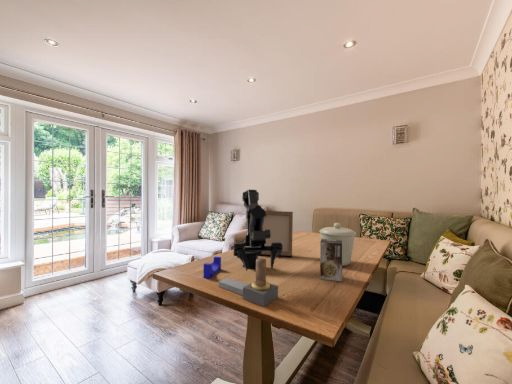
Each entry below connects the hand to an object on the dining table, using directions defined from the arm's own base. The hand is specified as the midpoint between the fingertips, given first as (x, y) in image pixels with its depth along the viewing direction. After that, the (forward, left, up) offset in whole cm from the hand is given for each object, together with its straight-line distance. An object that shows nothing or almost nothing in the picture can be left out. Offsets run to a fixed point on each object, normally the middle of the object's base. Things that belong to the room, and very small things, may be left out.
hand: (259, 269), depth 88 cm
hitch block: (+2, -5, -9) cm, 10 cm away
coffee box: (-32, +15, -9) cm, 36 cm away
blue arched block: (-3, -29, -9) cm, 31 cm away
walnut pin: (+2, +2, -8) cm, 9 cm away
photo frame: (-49, -26, -9) cm, 56 cm away
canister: (-54, +10, -9) cm, 56 cm away
